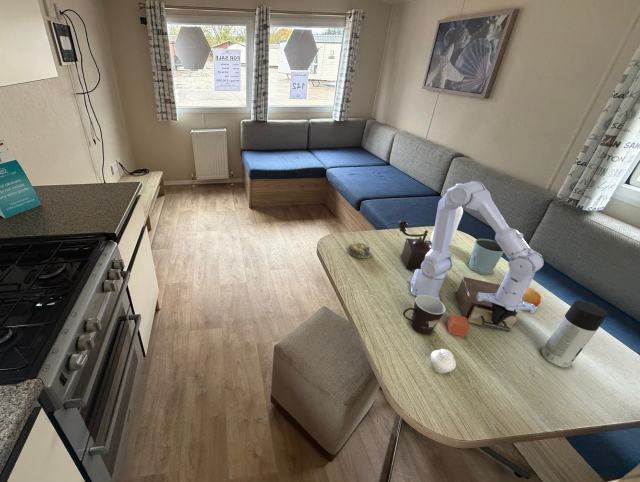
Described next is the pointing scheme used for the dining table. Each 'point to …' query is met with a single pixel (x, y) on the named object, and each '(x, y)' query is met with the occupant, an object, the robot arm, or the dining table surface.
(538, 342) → the dining table surface
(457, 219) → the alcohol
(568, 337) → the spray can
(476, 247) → the green plant pot
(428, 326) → the coffee mug
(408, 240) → the manual coffee grinder
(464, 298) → the cabinet
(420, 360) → the dining table surface
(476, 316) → the drawer
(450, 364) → the white garlic bulb
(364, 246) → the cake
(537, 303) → the fruit
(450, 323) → the block
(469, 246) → the dining table surface
